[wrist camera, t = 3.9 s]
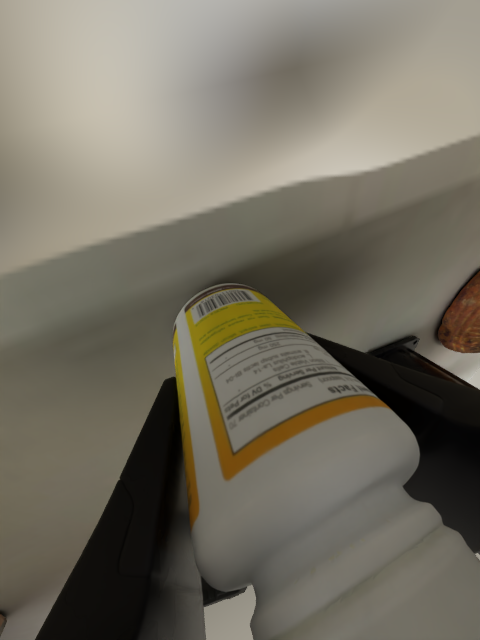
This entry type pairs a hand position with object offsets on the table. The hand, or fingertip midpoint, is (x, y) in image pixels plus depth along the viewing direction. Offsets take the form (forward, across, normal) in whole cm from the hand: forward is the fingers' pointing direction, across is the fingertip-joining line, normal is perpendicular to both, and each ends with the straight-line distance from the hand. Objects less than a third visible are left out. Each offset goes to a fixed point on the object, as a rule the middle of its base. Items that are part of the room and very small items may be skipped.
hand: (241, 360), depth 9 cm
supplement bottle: (+3, 0, 0) cm, 3 cm away
